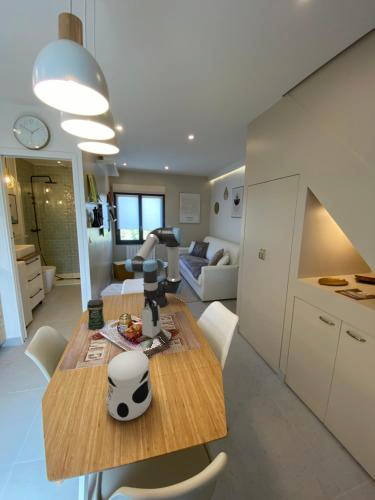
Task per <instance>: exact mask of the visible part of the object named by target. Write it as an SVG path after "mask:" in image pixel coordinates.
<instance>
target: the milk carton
mask: <svg viewBox="0 0 375 500" xmlns="http://www.w3.org/2000/svg"><path fill="white" fill-rule="evenodd" d="M158 315H159V321H157V331H154V332H152V321H151V320H153V319H152V311H151V308H150V307H149V303H147V306H146V307H145V308H144V307H143V308H142V309H141V321H142V322H141V326H142V327H141V331H142V333H141V334H142V335H143V336H149V337H151V338H152V339H154V338H153V337H154V336H156V335H157V334H158V333H159V332H160V328H161V308H160V307H159V306H158Z"/></svg>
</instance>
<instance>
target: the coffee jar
mask: <svg viewBox="0 0 375 500" xmlns="http://www.w3.org/2000/svg"><path fill="white" fill-rule="evenodd" d="M103 308H104V301H103V299H90V300H88V301H87V305H86V309H87V311H88V324H87V326H88V329H89V330H98V329H102V328H103V327H104V326H105V317H104V311H103V310H104V309H103Z"/></svg>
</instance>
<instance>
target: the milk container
mask: <svg viewBox="0 0 375 500" xmlns="http://www.w3.org/2000/svg"><path fill="white" fill-rule="evenodd" d="M106 373H107V374H106V375H107V376H106V377H107V391H106V400H105V401H106V407H107V410H108V413H109V414H110V416H111V417H113V418H114V419H115V420H117V421H123V422H124V421H131V420H134V419H136V418H139V417H140V416H141V415H143V414H144V413H145V412H146V411H147V409H148V408H149V406H150V404H151V402H152V398H153V397H152V396H153V384H152V381H151V377H150V374H151V370H150V360H149V357H148V355H147V356H146V354H144V353H143V351H139V350H126V351H123V352H121V353H119V354H117V355H116V356H114V357H112V359H111V360H110V361H109V362H108V366H107V370H106Z"/></svg>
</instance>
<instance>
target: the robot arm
mask: <svg viewBox="0 0 375 500" xmlns="http://www.w3.org/2000/svg"><path fill="white" fill-rule="evenodd" d="M183 242H184V236H183V232H182V230H181V228H179V227H157V228H155V229H154V230H151V231H150V232H149V233H148V234H147V235H146V237H145V240H144V242H143V244H142V245H141V247H140V248H139V249H138V251H137V252H136V254H135V255H134V257H133V258H128V259H126V261H125V263H124V268H125V270H126V271H127V272H132V273H142V274H143V275H142V276H143V277H142V278H143V284H142V286H143V296H144V305H143V308H145V307H146V306H147V303H149V307H150V308H151V311H152V319H153V320H151V321H152V332H154V331H157V321H159V315H158V306H159V307H160V309H161V308H165V307H166V306H168V303H169V302H168V299H167V296H166V295H167V294H172V295H173V294H175V295H181V294H182V292H183V288H184V283H185V282H184V279H182V276H181V275H180V252H179V251H180V247H181V244H183ZM159 244H164V246H165V248H166V249H167V266H168V267H167V269H168V275H167V277H166V276H164V275H159V274H160V273H161V272H163V270H164V268H165V262H164V261H163V260H162V259H160V258H156V259H149V257H150V256H151V254H152V252H153V250H154V249H155V247H156V246H157V245H159Z"/></svg>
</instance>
